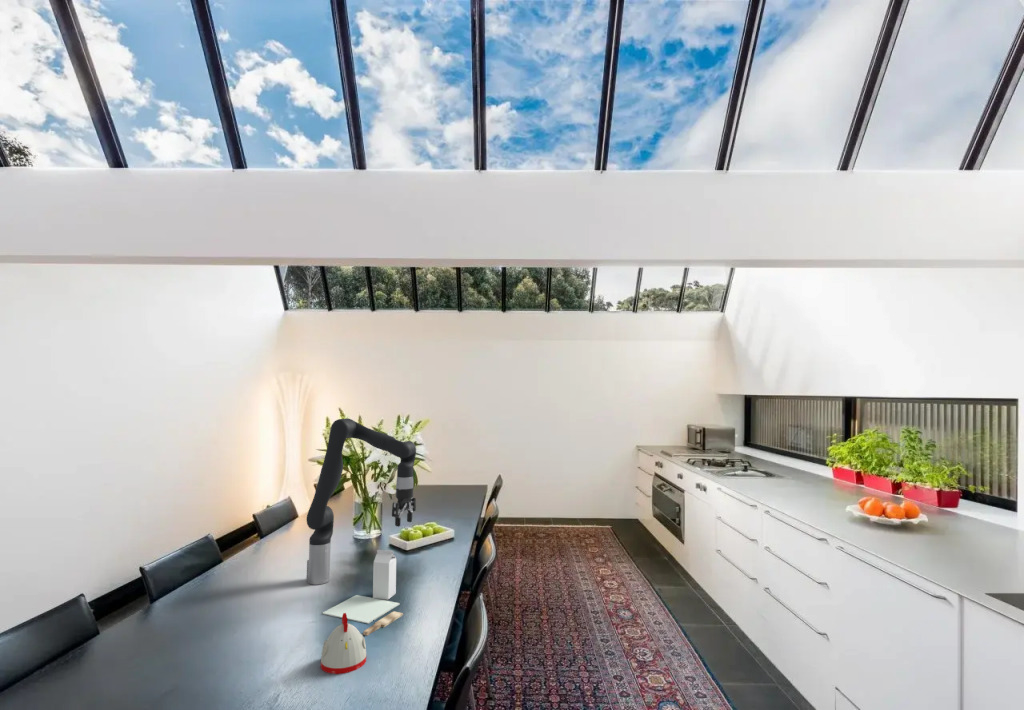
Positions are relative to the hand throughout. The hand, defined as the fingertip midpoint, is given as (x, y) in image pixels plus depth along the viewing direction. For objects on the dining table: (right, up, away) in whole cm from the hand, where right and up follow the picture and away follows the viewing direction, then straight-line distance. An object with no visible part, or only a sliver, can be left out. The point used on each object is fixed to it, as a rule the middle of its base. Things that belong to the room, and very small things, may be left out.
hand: (403, 524), depth 235 cm
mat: (-12, -26, -24) cm, 37 cm away
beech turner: (0, -26, -36) cm, 44 cm away
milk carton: (-6, -28, -10) cm, 30 cm away
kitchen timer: (-6, -24, -65) cm, 70 cm away
